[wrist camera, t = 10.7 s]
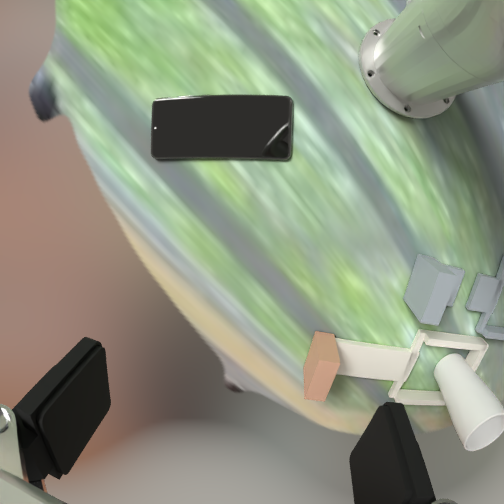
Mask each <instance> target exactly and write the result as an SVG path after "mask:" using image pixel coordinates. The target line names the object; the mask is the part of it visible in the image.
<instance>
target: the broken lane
mask: <svg viewBox="0 0 504 504" xmlns="http://www.w3.org/2000/svg"><path fill="white" fill-rule="evenodd" d="M464 273H465V271H464V270H463V269H462V268H458V267H454V266H450V265H445V264H442V263H441V262H439V261H438V260H437V259H435V258H434V257H430V256H425V255H421V254H418V255H417V259H416V262H415V265H414V268H413V271H412V274H411V277H410V280H409V283H408V286H407V289H406V292H405V295H404V297H403V299H404V301H405V302H406V303H407V305H408V306H409V308H410V309H411V310H412V312H413V313H414V315H415V316H416V317H417V319H418V320H419V322H420V323H424V324H431V325H437V326H438V325H439V322H440V320H441V318H442V315H443V313H444V310H445V308H446V306H451V307H452V306H453V303H454V301H455V298H456V295H457V293H458V290H459V287H460V285H461V282H462V279H463V276H464ZM503 286H504V256H503V257H502V260H501V264H500V267H499V270H498V272H497V275H496V277H493V276H489V275H485V274H481V273H478V274H477V277H476V279H475V282H474V285H473V288H472V290H471V293H470V296H469V298H468V301H467V303H466V306H465V307H466V308H467V309H468V310H473V311H479V312H482V314H481V317H480V319H479V321H478V323H477V326H476V328H475V330H476V331H477V333H482V334H483V336H484V337H485V338H489V339H498V340H504V327H498V326H491V325H486V324H487V322H488V320H489V318H490V315H491V314H493V312H494V309H495V307H496V304H497V302H498V299H499V297H500V294H501V292H502V289H503Z"/></svg>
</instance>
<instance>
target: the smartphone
mask: <svg viewBox="0 0 504 504" xmlns="http://www.w3.org/2000/svg"><path fill="white" fill-rule="evenodd" d="M292 124H293V100H292V99H291V98H290V97H289V96H279V95H201V96H193V95H192V96H177V97H167V98H158V99H155V100H154V101H153V104H152V123H151V155H152V157H153V158H155V159H179V158H230V159H265V160H288V159H289V158H290V157H291V152H292Z"/></svg>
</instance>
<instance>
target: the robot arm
mask: <svg viewBox="0 0 504 504" xmlns="http://www.w3.org/2000/svg"><path fill="white" fill-rule="evenodd" d="M373 33H375V34H376V35H374V34H373ZM359 65H360V69H361V73H362V76H363V78H364V80H365V82H366V85H367V86H368V88H369V89H370V91H371V92H372V93H373V95H374V96H375V97H376V98H377V99H378V100H379V101H380V102H381V103H382V104H384V105H385V106H386V107H387V108H389V109H390V110H392V111H394V112H396V113H397V114H400V115H403V116H405V117H410V118H415V119H425V118H430V117H433V116H436V115H439V114H441V113H442V112H444V111H445V110H447V109H448V108H449V107H450V106H451V104H452V103H453V101H454V99H455V97H456V95H458V94H461V93H465V92H468V91H471V90H475V89H478V88H482V87H485V86H489V85H493V84H496V83H500V82H504V0H407V1H406V7H405V9H404V10H403V11H402V12H401V13H400V15H399V16H398V17H397V18H394V19H387V20H384V21H381V22H379V23H377V24H376V25H374V26H373V27H372V28H371V29H370V30H369V31H368V32H367V33H366V35H365V36H364V38H363V40H362V43H361V45H360V50H359ZM368 74H371V77H369V76H368ZM443 100H444V101H445V103H444V101H443ZM404 108H406V109H407V111H405V110H404ZM110 405H111V399H110V392H109V383H108V374H107V364H106V352H105V348H103V347H102V345H101V343H100V342H99V341H96V340H93V339H90V338H87V337H84V338H83V339H82V340H81V341H80V342H79V343H78V344H77V345H76V346H75V347H74V348H73V349H72V350H71V351H70V352H69V353H68V354H67V355H66V356H65V357H64V358H63V359H62V360H61V361H60V362H59V363H58V364H57V365H55V366H54V367H52V368H51V370H49V371H48V372H47V373H46V375H45V376H44V377H43V378H42V379H41V380H40V381H39V382H38V383H37V384H36V385H35V386H34V387H33V388H32V389H31V390H30V391H29V392H28V393H27V394H26V395H25V396H24V398H23V399H22V400H21V401H20V402H19V403H18V404H17V405H16V406H15V407H14V408H13V409H12V410H11V409H10V408H8V407H7V406H5V405H2V404H0V504H67V503H65V502H63V501H61V500H59V499H57V498H55V497H53V496H51V495H50V494H48V493H47V489H46V485H45V481H44V479H45V478H46V476H47V475H48V474H50V475H52V476H54V477H56V478H57V479H60V478H61V476H62V475H63V474H64V475H66V474H68V473H69V471H70V470H71V468H72V467H73V465H74V463H75V462H76V460H77V458H78V457H79V456H80V454H81V452H82V451H83V449H84V448H85V446H86V444H87V443H88V441H89V440H90V438H91V437H92V435H93V434H94V432H95V431H96V429H97V427H98V426H99V424H100V423H101V421H102V420H103V418H104V417H105V415H106V414H107V412H108V411H109V408H110ZM350 469H351V476H352V485H353V494H354V503H355V504H457V503H455V502H454V501H452V500H449V499H439V500H436V498H435V495H434V492H433V488H432V485H431V482H430V478H429V475H428V472H427V469H426V466H425V463H424V460H423V457H422V454H421V451H420V448H419V445H418V443H417V441H416V439H415V436H414V433H413V430H412V427H411V424H410V421H409V419H408V416H407V413H406V411H405V408H404V405H403V404H402V403H396V402H386V403H384V405H383V406H379V407H378V409H377V411H376V413H375V414H374V416H373V418H372V420H371V421H370V423H369V425H368V426H367V428H366V430H365V431H364V433H363V435H362V436H361V438H360V440H359V441H358V443H357V445H356V446H355V448H354V449H353V451H352V452H351V455H350Z"/></svg>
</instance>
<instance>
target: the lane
mask: <svg viewBox="0 0 504 504" xmlns="http://www.w3.org/2000/svg"><path fill="white" fill-rule="evenodd" d="M423 341H424V342H425V344H426V345H430V346H439V347H448V348H457V349H467V350H470V351H469V353H468V355H467V357H466V359H465V361H466V362H467V363H468V364H469V366H470V367H471V368H472V369H473V370H474V371H476V370H477V368H478V366H479V364H480V362H481V360H482V358H483V356H484V354H485V353H486V351H487V349H488V347H489V345H488V344H487V343H486V341H485V340H484V339H483V338H482V337H475V336H467V335H460V334H452V333H445V332H437V331H430V330H424V329H418V331H417V333H416V336H415V338H414V340H413V343H412V345H411V347H410V349H409V348H401V347H393V346H386V345H379V344H372V343H365V342H358V341H352V340H346V339H339V338H335V336H334V334H330V333H324V332H318V331H315V334H314V337H313V340H312V343H311V346H310V350H309V353H308V356H307V359H306V362H305V365H304V368H303V369H304V395H305V399H309V400H316V401H324V402H325V399H326V397H327V395H328V392H329V390H330V388H331V385H332V383H333V381H334V378H335V376H336V374H339V375H347V376H355V377H363V378H372V379H381V380H392V381H394V383H393V384H392V386H391V388H390V390H389V392H388V395H389V397H390V398H394V399H395V402H396V403H402V404H407V405H446V404H445V401H444V398H443V396H442V393H441V391H423V390H406V389H400V388H401V386H402V384H403V382H406V380H407V378H408V376H409V374H410V372H411V370H412V368H413V366H414V364H415V362H416V360H417V358H418V356H419V354H420V353H419V350H420V348H421V346H422V343H423Z"/></svg>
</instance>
